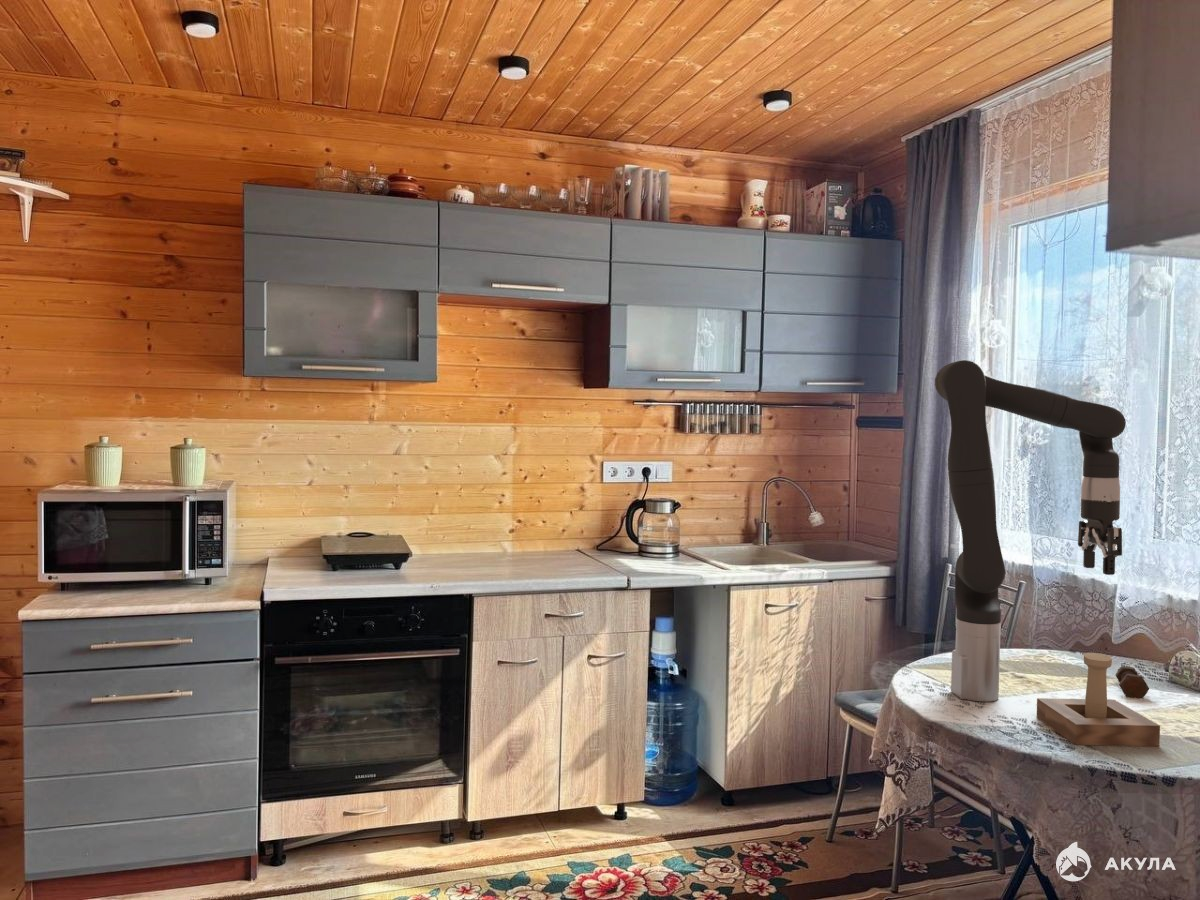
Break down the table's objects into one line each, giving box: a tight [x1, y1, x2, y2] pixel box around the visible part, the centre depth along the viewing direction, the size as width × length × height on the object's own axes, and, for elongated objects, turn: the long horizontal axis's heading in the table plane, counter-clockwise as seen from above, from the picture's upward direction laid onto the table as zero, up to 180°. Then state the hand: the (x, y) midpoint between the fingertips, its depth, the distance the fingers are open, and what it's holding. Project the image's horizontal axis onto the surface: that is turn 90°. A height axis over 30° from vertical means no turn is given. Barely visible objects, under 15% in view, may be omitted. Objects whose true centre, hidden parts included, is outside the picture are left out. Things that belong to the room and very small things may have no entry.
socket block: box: [1036, 697, 1161, 747], centre depth 183 cm, size 16×16×4 cm
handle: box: [1083, 652, 1113, 718], centre depth 183 cm, size 5×6×15 cm
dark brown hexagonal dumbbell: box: [1115, 665, 1150, 699], centre depth 212 cm, size 6×5×15 cm
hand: (1098, 571), depth 201 cm, fingers open, 8 cm apart
